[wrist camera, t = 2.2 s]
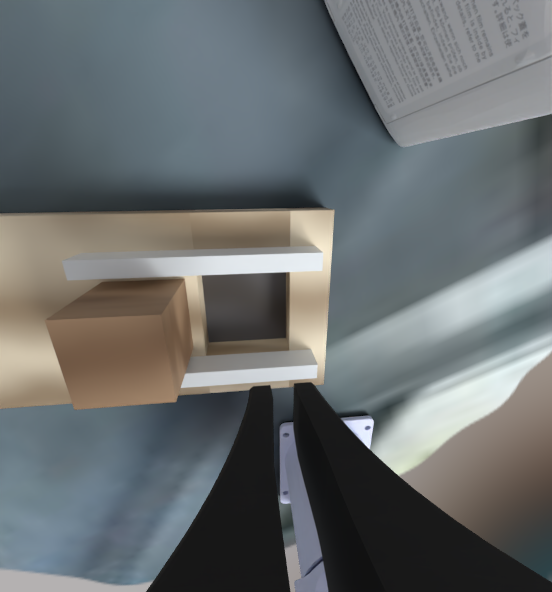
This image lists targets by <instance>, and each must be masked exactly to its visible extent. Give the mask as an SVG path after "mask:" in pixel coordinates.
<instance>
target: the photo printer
mask: <svg viewBox="0 0 552 592" xmlns="http://www.w3.org/2000/svg"><path fill="white" fill-rule="evenodd" d="M324 1H325V4H326V7H327V9H328V11H329V14H330V16H331V18H332V20H333V22H334V24H335V27H336V29H337V31H338V33H339V35H340V38H341V40H342V42H343V44H344V46H345V48H346V50H347V52H348V54H349V56H350V58H351V60H352V62H353V64H354V66H355V68H356V70H357V72H358V74H359V76H360V78H361V80H362V82H363V84H364V86H365V88H366V90H367V92H368V94H369V96H370V98H371V100H372V102H373V104H374V106H375V109H376V110H377V112H378V114H379V116H380V118H381V119H382V121H383V123H384V125H385V126H386V128H387V130H388V132H389V133H390V135H391V136H392V137H393V139H394V140H395V142H396V143H397V144H398V145H399V146H401V147H407V146H411V145H415V144H420V143H424V142H428V141H432V140H437V139H441V138H446V137H450V136H455V135H459V134H464V133H468V132H472V131H477V130H482V129H486V128H490V127H495V126H499V125H504V124H508V123H513V122H518V121H522V120H525V119H531V118H535V117H539V116H544V115H549V114H552V0H324Z"/></svg>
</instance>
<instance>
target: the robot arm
mask: <svg viewBox="0 0 552 592" xmlns="http://www.w3.org/2000/svg"><path fill="white" fill-rule="evenodd" d="M373 424H374V421H373V419H372V417H371V416H358V417H346V418H340V417H339V416H338V415H337V414H336V412H335V411H334V410H333V409H332V408H331V406H330V405H329V404H328V403H327V401H326V400H325V399H324V398H323V396H322V395H321V394H320V392H319V391H318V390H317V388H316V387H315V385H314V384H313V383H312V382H305V383H294V410H293V422H288V423H283V424H281V425H280V501H281V502H282V503H284V504H286V503H291V509H292V516H293V523H294V530H295V537H296V544H297V551H298V558H299V564H300V571H301V579H298V580H296V581H295V592H552V582H550V581H548V580H547V579H545V578H543V577H542V576H540V575H539V574H537V573H536V572H534V571H532V570H531V569H529V568H528V567H526V566H524V565H523V564H521V563H519V562H518V561H516V560H515V559H513V558H512V557H510V556H508V555H507V554H505V553H504V552H502V551H500V550H499V549H497V548H496V547H494V546H492V545H491V544H489V543H488V542H486V541H485V540H483V539H482V538H480V537H479V536H478V535H476V534H475V533H473V532H472V531H470V530H469V529H467V528H466V527H465V526H463V525H462V524H460V523H459V522H457V521H456V520H454V519H453V518H452V517H450V516H449V515H448V514H446V513H445V512H444V511H442V510H441V509H440V508H438V507H437V506H436V505H434V504H433V503H432V502H430V501H429V500H428V499H427V498H425V497H424V496H423V495H421V494H420V493H418V492H417V491H416V490H415V489H413V488H412V487H411V486H410V485H408V483H406V482H405V481H404V480H403V479H402V478H400V477H399V476H398V475H397V474H396V473H395V472H394V471H392V470H391V469H390V468H389V467H388V466H387V465H386V464H385V463H383V462H382V461H381V460H380V459H379V458H378V457H377V456H376V455H375V454H374V453H373V452H372V451H371V450H370V444H371V437H372V430H373ZM284 433H287V434H284ZM146 592H290V586H289V579H288V572H287V565H286V557H285V549H284V542H283V534H282V527H281V519H280V511H279V503H278V495H277V487H276V479H275V470H274V435H273V397H272V391H271V386H270V385H264V386H253V387H252V388H251V389H250V393H249V399H248V404H247V407H246V411H245V414H244V417H243V420H242V423H241V426H240V429H239V431H238V434H237V437H236V439H235V442H234V444H233V446H232V448H231V451H230V453H229V455H228V458H227V460H226V462H225V464H224V466H223V468H222V470H221V472H220V474H219V476H218V478H217V480H216V482H215V484H214V486H213V488H212V490H211V491H210V493H209V495H208V497H207V499H206V500H205V502H204V504H203V505H202V507H201V509H200V511H199V512H198V514H197V516H196V518H195V519H194V521H193V522H192V524H191V526H190V527H189V529H188V531H187V532H186V534H185V535H184V537H183V538H182V540H181V541H180V543H179V544H178V546H177V547H176V549H175V550H174V552H173V553H172V555H171V556H170V558H169V559H168V561H167V562H166V564H165V565H164V567H163V568H162V570H161V571H160V573H159V574H158V576H157V577H156V578H155V580H154V581H153V583H152V584H151V585H150V587H149V588H148V590H147V591H146Z"/></svg>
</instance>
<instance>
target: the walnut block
mask: <svg viewBox="0 0 552 592" xmlns="http://www.w3.org/2000/svg"><path fill="white" fill-rule="evenodd" d="M45 323H46V326H47V329H48V332H49V335H50V338H51V341H52V344H53V347H54V350H55V353H56V356H57V359H58V362H59V365H60V368H61V371H62V374H63V377H64V380H65V383H66V386H67V389H68V392H69V395H70V398H71V401H72V404H73V407H74V410H77V409H90V408H103V407H116V406H129V405H142V404H156V403H169V402H176V401H177V398H178V395H179V391H180V388H181V385H182V382H183V379H184V376H185V373H186V370H187V366H188V363H189V360H190V357H191V354H192V351H193V348H194V346H193V338H192V331H191V323H190V315H189V308H188V300H187V292H186V285H185V279H166V280H140V281H114V282H101V283H100V284H98V285H97V286H95V287H94V288H92V289H91V290H89V291H88V292H86V293H85V294H83V295H82V296H80V297H79V298H77V299H76V300H74V301H73V302H71V303H70V304H68V305H67V306H65V307H64V308H62V309H61V310H59V311H58V312H56V313H55V314H53V315H52V316H50V317H49V318H47V319H46V320H45Z"/></svg>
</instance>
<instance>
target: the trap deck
mask: <svg viewBox="0 0 552 592" xmlns="http://www.w3.org/2000/svg"><path fill="white" fill-rule="evenodd" d="M333 224H334V210H332V209H328V208H274V209H217V210H159V211H102V212H45V213H0V409H3V408H17V407H30V406H44V405H57V404H70V403H72V401H71V398H70V395H69V392H68V389H67V386H66V383H65V380H64V377H63V374H62V371H61V368H60V365H59V362H58V359H57V356H56V353H55V350H54V347H53V344H52V341H51V338H50V335H49V332H48V329H47V326H46V323H45V320H46V319H47V318H49V317H50V316H52V315H53V314H55V313H56V312H58V311H59V310H61V309H62V308H64V307H65V306H67V305H68V304H70V303H71V302H73V301H74V300H76V299H77V298H79V297H80V296H82V295H83V294H85V293H86V292H88V291H89V290H91V289H92V288H94V287H95V286H97V285H98V284H100V283H101V282H114V281H140V280H166V279H185V285H186V292H187V300H188V308H189V315H190V323H191V331H192V338H193V346H194V348H193V351H192V354H191V357H195V356H211V355H227V354H243V353H259V352H275V351H291V350H307V349H311V350H312V352H313V355H314V357H315V360H316V362H317V364H318V367H317V378H312V379H298V380H285V381H271V382H257V383H243V384H229V385H215V386H202V387H188V388H180V391H179V395H191V394H204V393H218V392H231V391H245V390H250V389H251V388H252V387H253V386H264V385H270V386H271V388H285V387H294V383H305V382H312V383H313V384H314V385H324V370H325V353H326V337H327V321H328V305H329V289H330V272H331V256H332V240H333ZM295 246H316V247H317V248H319V249H320V250H321V251H322V252H323V268H322V271H304V272H277V273H251V274H224V275H198V276H171V277H145V278H119V279H92V280H67V278H66V275H65V271H64V268H63V264H62V260H65V259H67V258H70V257H72V256H75V255H77V254H80V253H93V252H127V251H160V250H194V249H228V248H261V247H295Z"/></svg>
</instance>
